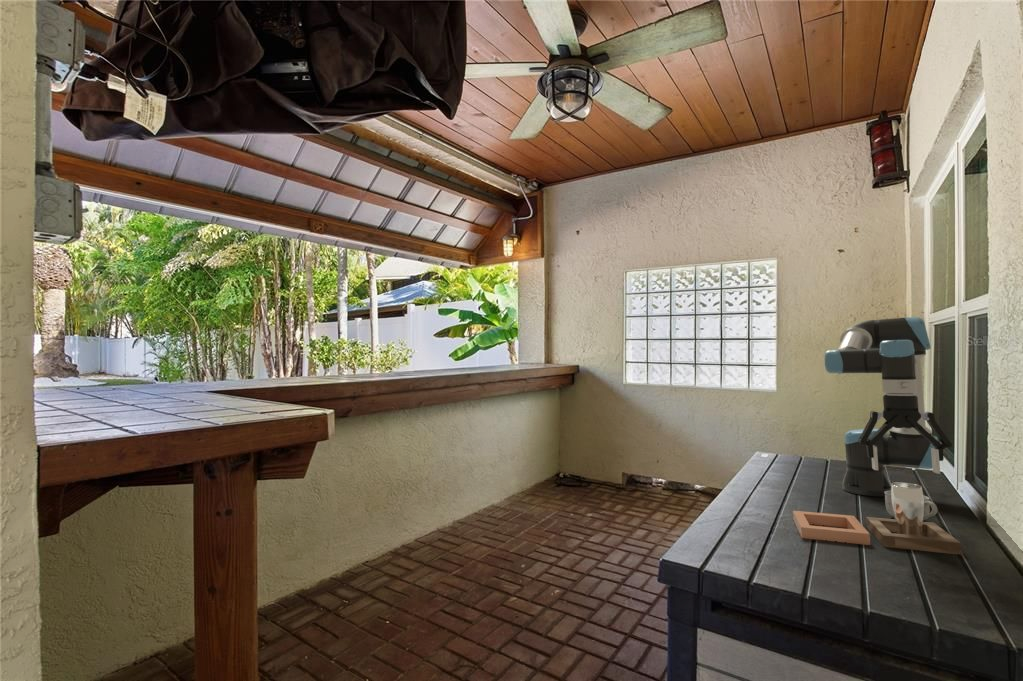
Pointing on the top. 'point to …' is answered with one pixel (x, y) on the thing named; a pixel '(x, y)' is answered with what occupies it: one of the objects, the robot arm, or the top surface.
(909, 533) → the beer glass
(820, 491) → the top surface
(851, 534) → the terracotta holder
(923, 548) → the walnut holder
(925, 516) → the teacup
